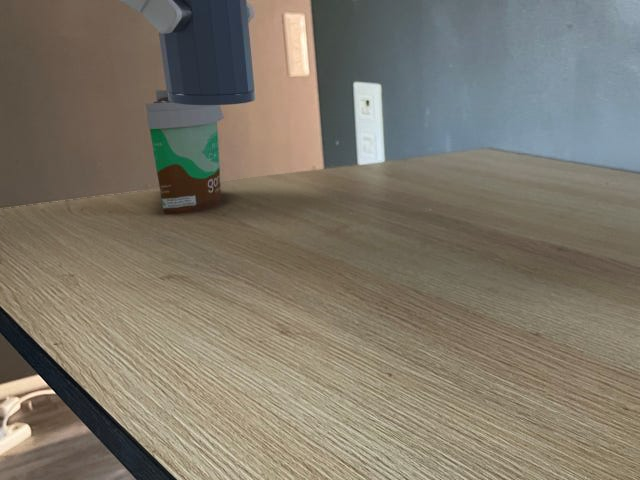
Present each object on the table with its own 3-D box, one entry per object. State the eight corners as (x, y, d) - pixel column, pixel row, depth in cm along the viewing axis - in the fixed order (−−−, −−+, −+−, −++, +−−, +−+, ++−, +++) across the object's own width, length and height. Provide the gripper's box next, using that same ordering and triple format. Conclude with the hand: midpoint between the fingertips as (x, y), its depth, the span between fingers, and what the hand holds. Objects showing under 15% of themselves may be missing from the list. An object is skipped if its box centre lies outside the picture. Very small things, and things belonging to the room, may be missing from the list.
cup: (152, 103, 48) (131, -46, 45) (191, 94, 53) (175, -41, 49) (235, 106, 47) (220, -44, 44) (267, 97, 52) (255, -40, 49)
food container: (234, 216, 73) (220, 102, 69) (163, 220, 71) (144, 104, 67) (233, 188, 84) (221, 88, 80) (171, 191, 82) (155, 89, 78)
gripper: (137, -98, 57) (271, 53, 59) (-138, -145, 39) (65, 74, 41) (183, -174, 54) (322, -13, 56) (-93, -263, 36) (125, -22, 38)
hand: (212, 24), depth 48 cm, fingers closed on cup, 5 cm apart
